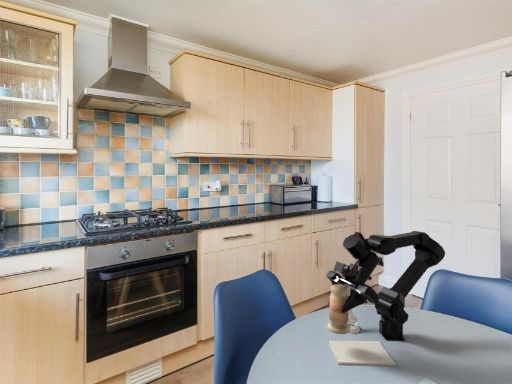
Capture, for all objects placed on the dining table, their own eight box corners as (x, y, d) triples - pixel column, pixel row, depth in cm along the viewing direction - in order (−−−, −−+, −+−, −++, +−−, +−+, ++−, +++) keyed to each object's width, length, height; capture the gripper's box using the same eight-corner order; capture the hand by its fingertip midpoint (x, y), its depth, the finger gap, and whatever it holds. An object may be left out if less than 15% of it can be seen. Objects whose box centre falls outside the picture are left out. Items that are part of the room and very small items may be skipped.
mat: (379, 343, 100) (379, 341, 100) (394, 365, 88) (395, 363, 88) (329, 342, 101) (329, 340, 101) (338, 364, 89) (338, 362, 89)
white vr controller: (350, 304, 119) (360, 299, 114) (354, 338, 113) (365, 334, 107) (332, 301, 118) (342, 296, 112) (335, 335, 111) (345, 332, 105)
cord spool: (342, 322, 100) (342, 282, 100) (354, 332, 94) (355, 289, 93) (323, 325, 98) (323, 284, 98) (334, 335, 92) (334, 292, 91)
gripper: (330, 246, 105) (302, 283, 101) (372, 259, 88) (340, 304, 84) (348, 266, 109) (322, 303, 104) (392, 282, 92) (363, 327, 88)
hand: (335, 308), depth 95 cm, fingers closed on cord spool, 6 cm apart
